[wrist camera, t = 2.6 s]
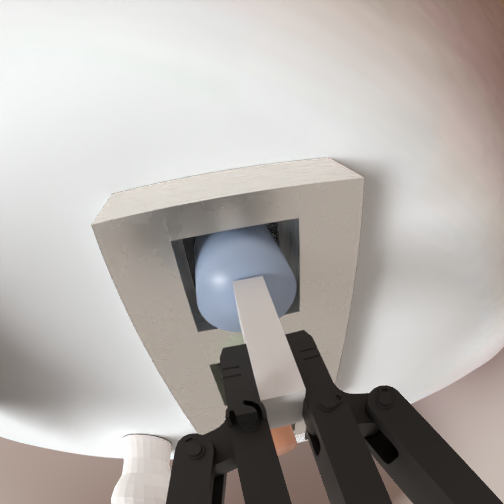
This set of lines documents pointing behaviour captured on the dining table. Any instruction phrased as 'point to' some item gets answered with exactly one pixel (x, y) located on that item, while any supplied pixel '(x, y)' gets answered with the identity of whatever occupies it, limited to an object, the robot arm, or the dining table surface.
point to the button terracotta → (283, 439)
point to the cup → (143, 471)
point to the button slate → (239, 272)
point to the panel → (222, 219)
